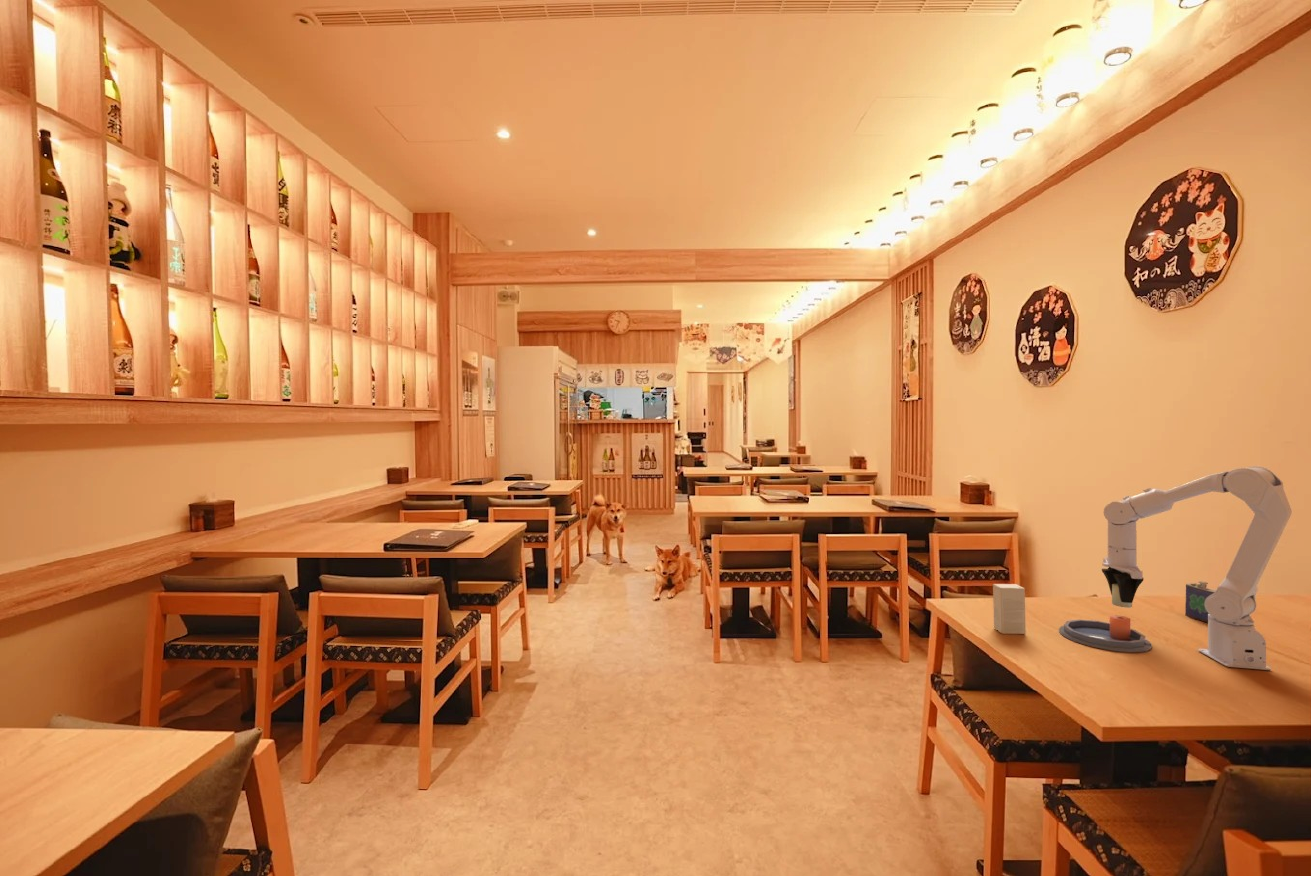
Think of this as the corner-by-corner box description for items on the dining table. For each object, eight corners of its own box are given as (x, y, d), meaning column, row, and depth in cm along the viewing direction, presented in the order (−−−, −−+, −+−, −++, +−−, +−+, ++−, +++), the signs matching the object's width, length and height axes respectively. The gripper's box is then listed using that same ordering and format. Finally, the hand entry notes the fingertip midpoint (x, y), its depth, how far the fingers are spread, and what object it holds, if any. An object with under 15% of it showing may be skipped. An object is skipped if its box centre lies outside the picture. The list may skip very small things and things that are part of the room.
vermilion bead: (1134, 641, 135) (1134, 620, 135) (1115, 639, 136) (1115, 619, 136) (1124, 635, 139) (1124, 615, 139) (1106, 634, 140) (1106, 614, 140)
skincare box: (1016, 628, 146) (1016, 583, 146) (1026, 634, 141) (1025, 588, 141) (992, 628, 146) (992, 583, 146) (1001, 634, 142) (1000, 587, 142)
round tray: (1169, 655, 127) (1169, 647, 127) (1079, 648, 132) (1078, 640, 132) (1125, 628, 145) (1125, 621, 145) (1047, 623, 149) (1047, 616, 149)
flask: (1226, 625, 146) (1225, 585, 146) (1215, 626, 146) (1215, 586, 146) (1191, 614, 156) (1190, 576, 155) (1181, 614, 155) (1180, 577, 155)
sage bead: (1136, 607, 140) (1136, 587, 140) (1120, 607, 141) (1120, 587, 140) (1123, 602, 144) (1123, 583, 144) (1108, 602, 145) (1108, 583, 144)
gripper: (1090, 541, 150) (1090, 590, 151) (1118, 552, 136) (1118, 606, 137) (1120, 542, 148) (1120, 592, 149) (1152, 554, 135) (1152, 609, 135)
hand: (1121, 599), depth 142 cm, fingers closed on sage bead, 4 cm apart
